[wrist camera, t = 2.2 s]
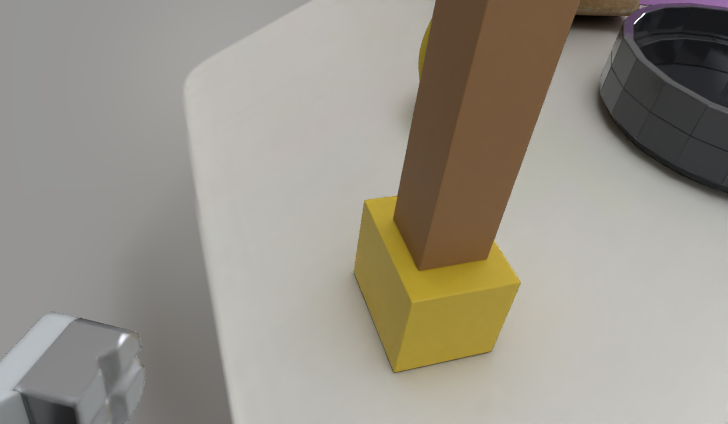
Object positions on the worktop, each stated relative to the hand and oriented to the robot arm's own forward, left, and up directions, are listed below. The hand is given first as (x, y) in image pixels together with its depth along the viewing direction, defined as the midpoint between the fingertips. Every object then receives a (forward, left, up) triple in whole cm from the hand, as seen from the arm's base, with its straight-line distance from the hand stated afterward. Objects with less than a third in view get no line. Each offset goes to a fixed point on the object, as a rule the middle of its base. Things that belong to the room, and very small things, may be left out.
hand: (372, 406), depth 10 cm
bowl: (-18, +30, -10) cm, 36 cm away
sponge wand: (-9, +6, -10) cm, 14 cm away
